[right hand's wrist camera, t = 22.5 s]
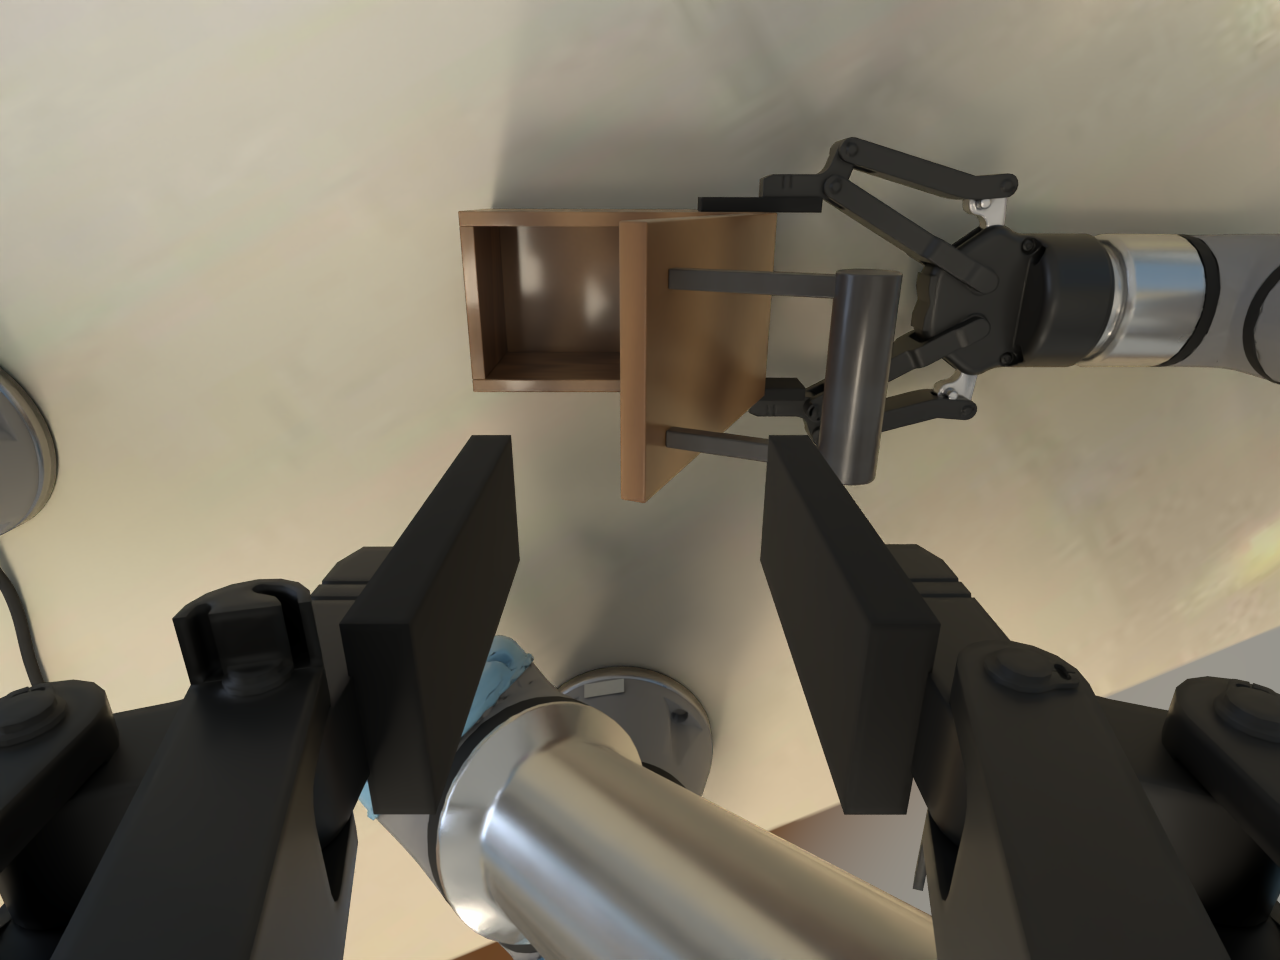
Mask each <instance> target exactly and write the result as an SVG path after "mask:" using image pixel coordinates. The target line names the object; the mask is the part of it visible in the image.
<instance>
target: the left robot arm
mask: <svg viewBox="0 0 1280 960" xmlns="http://www.w3.org/2000/svg"><path fill="white" fill-rule="evenodd" d="M853 169H855V170H858V171H861V172H864V173H867V174H870V175H874V176H877V177H880V178H883V179H886V180H889V181H893V182H896V183H899V184H902V185H905V186H908V187H912V188H915V189H918V190H921V191H924V192H927V193H931V194H934V195H937V196H940V197H944V198H948V199H956V200H963V203H962V205H963V210H964V211H965V212H966V213H968V214H971V215H975V216H976V217H977V218H978V219H979V222H980V226H979V227H977V228H976V229H974V230H973V231H971V232H970V233H968V234H967V235H965V236H964V237H963V238H961V239H960V240H958V241H957V242H955V243H954V244H952V245H950V244H949V243H947V242H946V241H944V240H942V239H940V238H938V237H936V236H934V235H932V234H931V233H929V232H928V231H926V230H924V229H923V228H921V227H920V226H918V225H917V224H915V223H914V222H912V221H911V220H909V219H908V218H906V217H904V216H903V215H901V214H900V213H898V212H897V211H895V210H894V209H892V208H891V207H889V206H888V205H886V204H884V203H883V202H881V201H880V200H878V199H877V198H875V197H874V196H872V195H871V194H869V193H868V192H866V191H864V190H863V189H861V188H860V187H858V186H857V185H855V184H854V183H852V182H851V181H849V180H848V179H849V177H850V175H851V172H852V170H853ZM1017 187H1018V180H1017V178H1016V176H1014V175H1013V174H994V175H980V176H974V175H971V174H968V173H965V172H962V171H959V170H956V169H953V168H949V167H946V166H943V165H940V164H937V163H934V162H931V161H928V160H924V159H921V158H918V157H915V156H912V155H909V154H906V153H903V152H900V151H896V150H893V149H890V148H887V147H884V146H881V145H878V144H875V143H871V142H868V141H865V140H862V139H859V138H855V137H850V138H847V139H843V140H840V141H837V142H835V143H834V144H833V145H832V147H831V148H830V153H829V157H828V160H827V162H826V164H825V166H824V168H823V169H822V170H821V171H820V172H819V173H818V174H773V175H768V176H766V177H764V178H761V179H760V187H759V197H698V211H700V212H812V213H821V212H822V200H824V201H826V202H828V203H829V204H831V205H832V206H834V207H835V208H837V209H838V210H840V211H842V212H843V213H845V214H846V215H848V216H849V217H851V218H853V219H854V220H856V221H857V222H859V223H860V224H862V225H863V226H865V227H867V228H868V229H870V230H871V231H873V232H874V233H876V234H878V235H879V236H881V237H882V238H884V239H885V240H887V241H889V242H890V243H892V244H893V245H895V246H896V247H898V248H899V249H901V250H903V251H904V252H906V253H907V255H909V256H910V257H912V258H913V259H915V260H916V261H918V262H919V263H921V264H923V265H924V268H923V270H922V272H918V277H917V284H916V288H917V296H918V300H917V303H916V305H915V308H914V310H913V313H912V320H911V326H913V327H914V330H912V331H910V332H908V333H906V334H904V335H903V336H901V337H899V338H897V339H896V340H895V342H894V343H893V349H892V356H891V363H890V371H889V378H888V382H889V381H891V380H893V379H895V378H897V377H899V376H901V375H903V374H905V373H907V372H909V371H911V370H913V369H916V368H922V367H925V366H928V365H930V364H932V363H933V362H935V361H937V360H939V359H941V358H942V359H943V360H945V361H946V362H947V363H948V364H950V365H951V366H952V367H953V368H955V372H954V374H953V375H952V376H951V377H950V378H948V379H945V380H940V381H938V382H937V383H935V385H934V388H933V389H922V390H916V391H911V392H907V393H903V394H900V395H896V396H892V397H888V398H886V401H885V408H884V415H883V423H882V430H881V432H884V431H888V430H891V429H895V428H899V427H903V426H907V425H911V424H915V423H919V422H923V421H927V420H931V419H935V418H945V419H958V420H968V419H971V418H972V417H973V416H974V415H975V414H976V412H977V406H976V404H975V403H974V402H973V401H971V398H972V394H973V390H974V386H975V382H976V378H977V375H979V374H982V373H984V372H986V371H987V370H990V369H993V368H996V367H1068V366H1072V365H1074V364H1075V365H1077V366H1080V367H1161V366H1178V367H1213V368H1225V369H1231V370H1236V371H1240V372H1243V373H1247V374H1250V375H1254V376H1257V377H1260V378H1264V379H1267V380H1269V381H1271V382H1273V383H1277V384H1280V234H1232V235H1178V234H1100V235H1096V236H1091V235H1089V234H1019V233H1016V232H1014V231H1012V230H1011V229H1009V228H1008V227H1006V226H1004V225H1005V216H1006V206H1007V197H1010V196H1011V195H1013V194H1014V193H1015V191H1016V190H1017ZM824 385H825V379H824V380H822V381H820V382H818V383H816V384H814V385H812V386H810V387H808V388H805V387H804V386H803V385H802V384H801V382H800V381H799V380H798V379H797V378H766V380H765V395H764V396H763V397H762V398H761V399H760V400H759V401H758V402H757V403H755V404H754V405H753V406H752V407H751V408H750V409H749V410H748V411H749V413H751V414H753V415H756V416H797V417H801V418H803V421H804V424H805V430H806V432H807V433H808V435H809V436H810V438H811V439H812V441H813V442H814V444H816V445H817V446H818V444H819V434H820V425H821V415H822V405H823V395H824ZM533 660H534V658H533V656H532V655H531V654H529V653H526V652H525V651H524V650H523V649H522V648H521V647H520V646H519V645H518V644H517V643H516V642H515V641H514V640H513V639H511V638H509V637H507V636H501V635H498V636H495V637H494V640H493V643H492V646H491V649H490V652H489V655H488V658H487V661H486V664H485V667H484V670H483V673H482V676H481V679H480V682H479V685H478V688H477V691H476V694H475V697H474V700H473V703H472V706H471V709H470V712H469V715H468V718H467V721H466V724H465V727H464V730H463V733H462V736H461V739H460V742H459V745H458V748H457V751H456V754H455V757H454V760H453V763H452V766H451V769H450V772H449V775H448V779H447V782H446V785H445V788H444V791H443V794H442V797H441V800H440V803H439V806H438V809H437V812H436V815H374V814H373V808H372V803H371V797H370V792H369V786H368V781H366V784H365V786H364V788H363V790H362V792H361V794H360V796H359V801H360V802H361V803H362V804H363V805H364V807H365V808H366V809H367V810H368V811H367V815H368V817H369V818H370V819H372V820H374V819H375V818H376V819H377V820H378V821H379V822H380V823H381V824H382V825H383V826H384V827H385V828H386V829H387V830H388V831H389V832H390V833H391V834H392V835H393V837H395V839H396V840H397V841H398V842H399V843H400V844H401V845H402V846H403V847H404V848H405V849H406V850H407V852H408V853H409V854H410V855H411V856H412V857H413V858H414V859H415V861H416V862H417V863H418V864H419V865H420V867H421V868H422V869H423V871H424V872H425V873H426V874H427V876H428V877H429V878H430V880H431V881H432V882H433V884H434V885H435V886H436V887H437V889H438V890H439V891H440V893H441V894H442V895H443V897H444V898H445V900H446V901H447V902H448V903H449V904H450V906H451V907H452V909H453V910H454V911H455V913H456V914H457V915H458V916H459V918H460V919H461V920H462V921H463V922H464V923H465V924H466V925H467V926H469V927H470V928H471V929H472V930H473V931H475V932H476V933H478V934H480V935H481V936H483V937H485V938H487V939H490V940H494V941H497V942H498V943H499V944H500V945H501V946H502V947H503V948H504V949H505V950H506V951H507V952H508V953H509V954H510V955H511V956H512V957H513V959H514V960H937V953H936V945H935V937H934V929H933V922H932V916H931V915H929V914H927V913H925V912H923V911H921V910H919V909H917V908H915V907H913V906H911V905H910V904H908V903H906V902H904V901H902V900H900V899H898V898H896V897H894V896H892V895H890V894H888V893H886V892H884V891H882V890H881V889H879V888H877V887H875V886H873V885H871V884H869V883H867V882H865V881H863V880H861V879H859V878H857V877H855V876H853V875H851V874H850V873H848V872H846V871H844V870H842V869H840V868H838V867H836V866H834V865H832V864H830V863H828V862H826V861H825V860H823V859H821V858H819V857H817V856H815V855H813V854H811V853H809V852H807V851H805V850H803V849H801V848H799V847H797V846H795V845H794V844H792V843H790V842H788V841H786V840H784V839H782V838H780V837H778V836H776V835H774V834H772V833H770V832H768V831H767V830H765V829H763V828H761V827H759V826H757V825H755V824H753V823H751V822H749V821H747V820H745V819H743V818H741V817H740V816H738V815H736V814H734V813H732V812H730V811H728V810H726V809H724V808H722V807H720V806H718V805H716V804H714V803H712V802H711V801H709V800H707V799H705V798H703V797H702V794H703V791H704V788H705V785H706V782H707V778H708V775H709V772H710V768H711V762H712V755H713V744H712V736H711V729H710V724H709V720H708V717H707V715H706V713H705V711H704V709H703V707H702V706H701V704H700V703H699V701H698V700H697V699H696V698H695V696H694V695H693V694H692V693H691V692H690V691H689V690H687V689H686V688H685V687H684V686H682V685H681V684H680V683H678V682H676V681H675V680H673V679H671V678H669V677H667V676H665V675H663V674H660V673H658V672H654V671H651V670H647V669H642V668H636V667H623V666H622V667H607V668H601V669H596V670H593V671H589V672H586V673H584V674H581V675H579V676H577V677H575V678H573V679H571V680H569V681H568V682H566V683H564V684H563V685H562V686H561V687H559V688H558V689H556V688H555V687H554V686H553V685H552V684H551V683H550V682H549V681H548V680H547V679H546V678H545V677H544V676H543V674H542V673H541V672H540V671H539V669H538V668H537V667H536V666H535V664H534V663H533Z"/></svg>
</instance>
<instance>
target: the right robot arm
mask: <svg viewBox="0 0 1280 960" xmlns="http://www.w3.org/2000/svg"><path fill="white" fill-rule="evenodd" d="M56 468H57V464H56V454H55V448H54V444H53V440H52V437H51V434H50V432H49V429H48V427H47V425H46V422H45V420H44V418H43V416H42V415H41V413H40V411H39V410H38V408H37V407H36V405H35V404H34V402H33V401H32V399H31V398H30V397H29V396H28V394H27V393H26V392H25V391H24V389H23V388H22V387H21V386H20V385H19V384H18V383H17V382H16V381H15V380H14V379H13V378H12V377H11V376H10V375H9V374H7V373H6V372H5V371H4V370H3V369H1V368H0V535H2V534H4V533H6V532H8V531H10V530H12V529H14V528H16V527H17V526H19V525H21V524H23V523H25V522H27V521H28V520H30V519H31V518H33V517H34V516H35V515H36V514H37V513H38V512H40V510H41V509H42V508H43V507H44V506H45V504H46V502H47V501H48V499H49V497H50V495H51V493H52V491H53V487H54V484H55V479H56ZM519 561H520V557H519V542H518V528H517V514H516V500H515V485H514V471H513V457H512V443H511V435H472V436H471V437H470V439H469V440H468V442H467V443H466V444H465V446H464V447H463V449H462V450H461V451H460V453H459V454H458V456H457V457H456V459H455V460H454V461H453V463H452V464H451V466H450V467H449V468H448V470H447V471H446V473H445V474H444V476H443V477H442V478H441V480H440V481H439V483H438V484H437V485H436V487H435V488H434V490H433V491H432V493H431V494H430V495H429V497H428V498H427V500H426V501H425V502H424V504H423V505H422V507H421V508H420V510H419V511H418V512H417V514H416V515H415V517H414V518H413V520H412V521H411V522H410V524H409V525H408V527H407V528H406V529H405V531H404V532H403V534H402V535H401V537H400V538H399V539H398V541H397V542H396V544H395V545H394V546H393V547H362V548H361V549H359V550H357V551H356V552H354V553H352V554H351V555H349V556H347V557H346V558H344V559H342V560H341V561H339V562H337V564H336V565H335V566H334V567H333V568H332V570H331V571H330V572H329V573H328V574H327V576H326V577H325V578H324V579H323V581H322V585H318V587H317V588H316V589H315V590H314V591H313V593H312V594H311V595H310V590H308V589H307V588H306V587H304V586H303V585H302V584H300V583H299V582H294V581H289V580H284V579H257V580H252V581H247V582H242V583H237V584H232V585H229V586H226V587H223V588H220V589H218V590H215V591H212V592H209V593H206V594H205V595H203V596H201V597H199V598H198V599H196V600H194V601H192V602H190V603H189V604H187V605H185V606H184V607H183V608H182V609H181V610H180V611H179V612H178V613H177V614H176V615H175V616H174V617H173V618H172V620H173V623H174V627H175V630H176V634H177V637H178V641H179V644H180V648H181V651H182V655H183V659H184V662H185V666H186V669H187V673H188V676H189V680H190V683H191V686H190V688H189V690H188V691H187V693H186V695H185V697H184V699H182V700H178V701H174V702H170V703H165V704H160V705H155V706H150V707H145V708H140V709H134V710H129V711H124V712H119V713H114V714H113V713H112V710H111V707H110V704H109V702H108V699H107V696H106V693H105V690H103V689H102V688H101V687H99V686H98V685H97V684H95V683H94V682H87V681H80V680H66V681H58V682H46V683H44V680H43V678H42V675H41V672H40V669H39V666H38V663H37V660H36V657H35V653H34V649H33V645H32V641H31V636H30V632H29V627H28V623H27V619H26V616H25V612H24V609H23V606H22V604H21V601H20V599H19V596H18V594H17V592H16V590H15V588H14V586H13V585H12V583H11V581H10V580H9V579H8V577H7V576H6V574H5V573H4V572H3V570H2V569H1V568H0V590H1V592H2V594H3V596H4V598H5V600H6V602H7V605H8V607H9V610H10V613H11V616H12V619H13V622H14V626H15V630H16V634H17V639H18V643H19V647H20V652H21V655H22V659H23V662H24V666H25V669H26V671H27V674H28V677H29V680H30V682H31V685H32V687H30V688H29V687H25V688H22V689H19V690H16V691H13V692H11V693H9V694H8V695H7V696H5V697H2V698H0V894H1V897H2V899H3V901H4V904H3V905H2V906H1V908H0V960H343V954H344V947H345V939H346V931H347V923H348V916H349V908H350V900H351V892H352V885H353V877H354V869H355V861H356V853H357V846H358V839H357V831H356V825H355V820H354V815H353V809H354V807H355V805H356V803H357V801H358V799H359V796H360V794H361V792H362V790H363V788H364V786H365V784H366V781H368V786H369V792H370V797H371V803H372V808H373V814H374V815H436V812H437V809H438V806H439V803H440V800H441V797H442V794H443V791H444V788H445V785H446V782H447V779H448V775H449V772H450V769H451V766H452V763H453V760H454V757H455V754H456V751H457V748H458V745H459V742H460V739H461V736H462V733H463V730H464V727H465V724H466V721H467V718H468V715H469V712H470V709H471V706H472V703H473V700H474V697H475V694H476V691H477V688H478V685H479V682H480V679H481V676H482V673H483V670H484V667H485V664H486V661H487V658H488V655H489V652H490V649H491V646H492V643H493V640H494V637H495V633H496V630H497V627H498V624H499V621H500V618H501V615H502V612H503V609H504V606H505V603H506V600H507V597H508V594H509V591H510V588H511V585H512V582H513V579H514V576H515V573H516V570H517V567H518V564H519ZM760 561H761V564H762V567H763V570H764V573H765V576H766V579H767V582H768V585H769V588H770V591H771V594H772V597H773V600H774V603H775V606H776V609H777V612H778V615H779V618H780V621H781V624H782V627H783V630H784V634H785V637H786V640H787V643H788V646H789V649H790V652H791V655H792V658H793V661H794V664H795V667H796V670H797V673H798V676H799V679H800V682H801V685H802V688H803V691H804V694H805V697H806V700H807V703H808V706H809V709H810V712H811V715H812V718H813V721H814V724H815V727H816V730H817V733H818V736H819V739H820V742H821V745H822V748H823V751H824V754H825V757H826V760H827V763H828V766H829V769H830V772H831V775H832V779H833V782H834V785H835V788H836V791H837V794H838V797H839V800H840V803H841V806H842V809H843V812H844V814H845V815H847V814H849V815H851V814H852V815H853V814H854V815H859V814H860V815H863V814H864V815H866V814H867V815H869V814H870V815H872V814H876V815H880V814H882V815H884V814H887V815H889V814H890V815H892V814H896V815H901V814H903V815H904V814H907V808H908V803H909V797H910V792H911V786H912V781H913V778H914V780H915V782H916V784H917V786H918V788H919V790H920V792H921V795H922V797H923V799H924V801H925V803H926V805H927V807H928V810H927V815H926V820H925V825H924V830H923V835H922V840H921V845H920V850H919V855H918V861H917V866H916V871H915V877H914V884H913V889H916V890H921V891H923V887H924V882H925V877H926V875H927V883H928V891H929V898H930V906H931V914H932V922H933V929H934V937H935V945H936V953H937V960H1280V903H1279V902H1278V901H1277V899H1278V897H1279V894H1280V694H1278V693H1276V692H1274V691H1273V690H1271V689H1269V688H1267V687H1264V686H1261V685H1258V684H1255V683H1253V684H1250V683H1249V682H1247V681H1242V680H1238V679H1227V678H1218V677H1209V676H1206V677H1199V678H1191V679H1187V680H1185V681H1184V682H1183V683H1181V684H1180V685H1179V686H1177V687H1176V690H1175V693H1174V696H1173V699H1172V702H1171V705H1170V707H1169V710H1162V709H1158V708H1152V707H1147V706H1142V705H1137V704H1132V703H1127V702H1122V701H1116V700H1111V699H1107V698H1103V697H1099V696H1095V694H1094V692H1093V690H1092V688H1091V686H1090V684H1089V683H1088V682H1087V681H1086V679H1085V678H1084V677H1083V676H1082V675H1081V673H1080V672H1079V671H1078V670H1077V669H1076V668H1075V667H1073V666H1072V665H1070V664H1069V663H1067V662H1066V661H1064V660H1063V659H1061V658H1060V657H1058V656H1056V655H1054V654H1051V653H1049V652H1047V651H1044V650H1042V649H1039V648H1037V647H1035V646H1031V645H1027V644H1023V643H1018V642H1014V641H1010V640H1009V638H1008V637H1007V636H1006V635H1005V634H1004V633H1003V631H1002V630H1001V629H1000V628H999V627H998V625H997V624H996V623H995V622H994V621H993V619H992V618H991V617H990V616H989V615H988V613H987V612H986V611H985V610H984V609H983V607H982V606H981V605H980V604H979V603H978V601H977V600H976V599H975V598H971V593H970V592H969V591H968V589H967V588H966V587H965V586H964V585H963V583H962V582H958V577H957V576H956V575H955V574H954V573H953V571H952V570H951V569H950V568H949V567H948V565H947V564H946V563H945V562H944V561H943V560H942V559H940V558H939V557H937V556H935V555H934V554H932V553H930V552H929V551H927V550H925V549H924V548H922V547H920V546H919V545H917V544H884V542H883V541H882V539H881V538H880V537H879V535H878V534H877V532H876V531H875V529H874V528H873V527H872V525H871V524H870V522H869V521H868V520H867V518H866V517H865V515H864V514H863V512H862V511H861V510H860V508H859V507H858V505H857V504H856V502H855V501H854V500H853V498H852V497H851V495H850V494H849V493H848V491H847V490H846V488H845V487H844V485H843V484H842V483H841V481H840V480H839V478H838V477H837V476H836V474H835V473H834V471H833V470H832V468H831V467H830V466H829V464H828V463H827V461H826V460H825V459H824V457H823V456H822V454H821V453H820V451H819V450H818V449H817V447H816V446H815V444H814V443H813V442H812V440H811V439H810V437H809V436H808V435H769V442H768V457H767V471H766V485H765V500H764V514H763V528H762V542H761V557H760Z"/></svg>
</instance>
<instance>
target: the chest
mask: <svg viewBox="0 0 1280 960" xmlns="http://www.w3.org/2000/svg"><path fill="white" fill-rule="evenodd" d="M742 213H759V212H700V211H698V210H683V209H480V210H467V211H459V212H458V214H459V225H460V238H461V250H462V262H463V274H464V285H465V297H466V309H467V321H468V333H469V345H470V357H471V368H472V379H473V391H474V392H620V264H619V222H620V221H627V220H643V219H660V218H676V217H693V216H709V215H726V214H742ZM763 213H765V212H763Z"/></svg>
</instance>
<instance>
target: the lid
mask: <svg viewBox="0 0 1280 960" xmlns="http://www.w3.org/2000/svg"><path fill="white" fill-rule="evenodd" d="M776 223H777V213H763V212H759V213H742V214H726V215H709V216H693V217H676V218H660V219H643V220H627V221H620V222H619V264H620V418H621V499H625V500H630V501H636V502H641V503H645V502H647V501H648V500H649V499H650V498H651V497H652V496H653V495H654V494H655V493H657V492H658V491H659V490H660V489H661V488H662V487H663V486H664V485H665V484H667V483H668V482H669V481H670V480H671V479H672V478H673V477H674V476H675V475H677V474H678V473H679V472H680V471H681V470H682V469H683V468H684V467H685V466H687V465H688V464H689V463H690V462H691V461H692V460H693V459H694V458H695V457H697V456H698V455H699V454H700V453H708V454H715V455H722V456H728V457H735V458H742V459H749V460H756V461H762V462H767V457H768V442H769V439H763V438H756V437H749V436H741V435H734V434H726V433H723V432H724V431H725V430H727V429H728V428H729V427H730V426H731V425H732V424H733V423H734V422H735V421H737V420H738V419H739V418H740V417H741V416H742V415H743V414H744V413H745V412H747V411H748V410H749V409H750V408H751V407H752V406H753V405H754V404H755V403H757V402H758V401H759V400H760V399H761V398H762V397H763V396H764V395H765V380H766V366H767V352H768V337H769V323H770V309H771V295H780V296H797V297H815V298H833V306H832V316H831V326H830V336H829V346H828V356H827V365H826V375H825V385H824V395H823V405H822V415H821V425H820V434H819V444H818V446H816V447H817V449H818V450H819V451H820V453H821V454H822V456H823V457H824V459H825V460H826V461H827V463H828V464H829V466H830V467H831V468H832V470H833V471H834V473H835V474H836V476H837V477H838V478H839V480H840V481H841V483H842V484H843V485H863V484H867V483H870V482H872V481H873V480H874V479H875V475H876V467H877V460H878V453H879V445H880V438H881V430H882V423H883V415H884V408H885V401H886V393H887V386H888V378H889V371H890V363H891V356H892V349H893V341H894V334H895V326H896V319H897V312H898V304H899V297H900V289H901V282H902V273H901V272H897V271H891V270H878V269H844V270H838V271H837V272H836V274H817V273H794V272H773V266H774V252H775V237H776Z"/></svg>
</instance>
